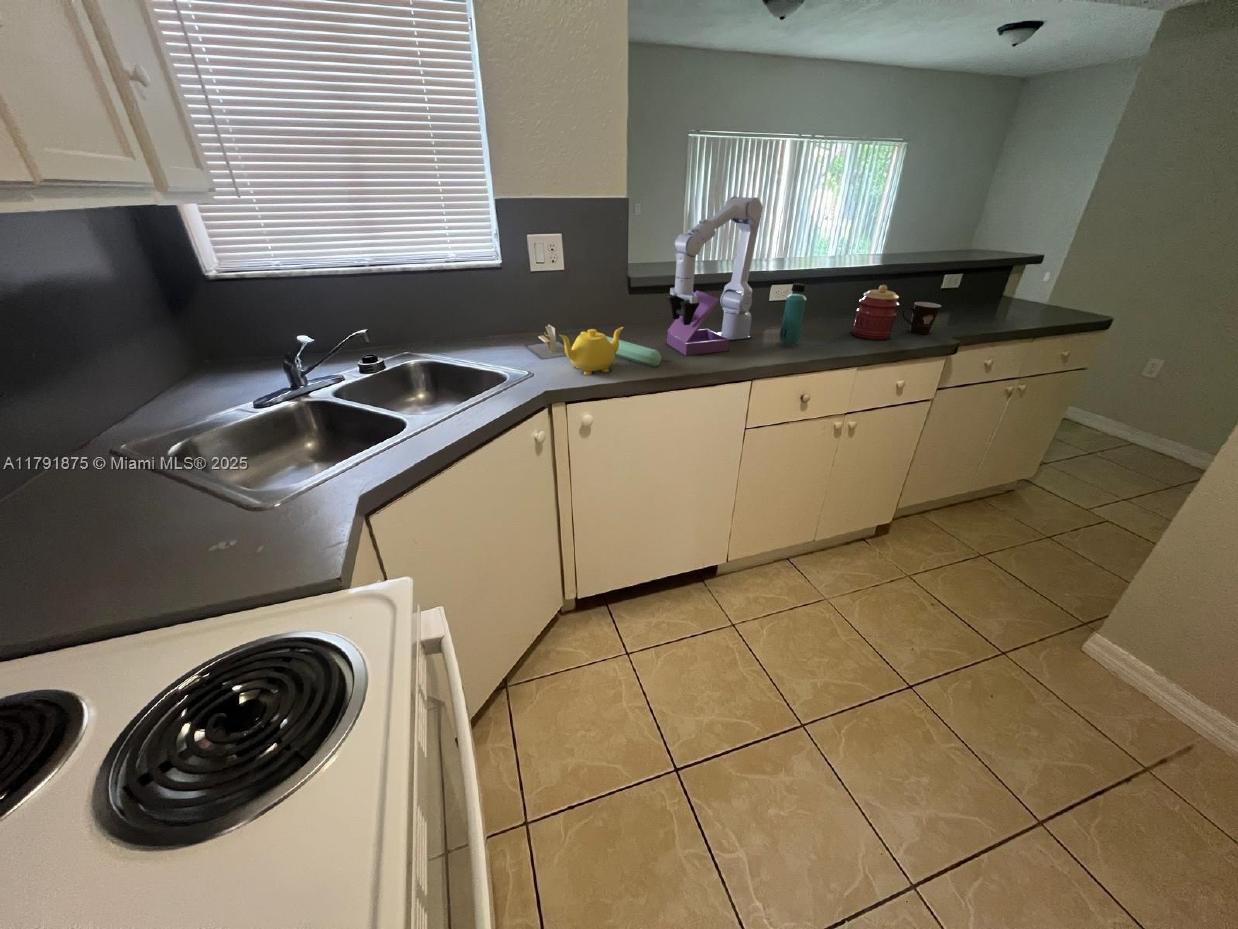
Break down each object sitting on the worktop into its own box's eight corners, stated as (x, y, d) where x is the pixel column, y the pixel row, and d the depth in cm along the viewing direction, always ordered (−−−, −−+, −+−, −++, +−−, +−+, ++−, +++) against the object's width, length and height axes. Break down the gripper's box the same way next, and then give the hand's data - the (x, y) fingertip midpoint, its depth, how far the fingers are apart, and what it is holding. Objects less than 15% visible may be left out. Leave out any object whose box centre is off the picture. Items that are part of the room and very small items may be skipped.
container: (662, 345, 143) (599, 328, 156) (651, 357, 140) (588, 339, 154) (665, 361, 147) (603, 343, 161) (654, 373, 145) (592, 354, 158)
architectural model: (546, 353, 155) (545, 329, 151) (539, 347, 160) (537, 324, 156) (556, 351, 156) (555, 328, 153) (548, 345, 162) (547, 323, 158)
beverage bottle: (800, 345, 167) (813, 283, 156) (792, 349, 162) (804, 286, 152) (783, 341, 170) (794, 281, 160) (774, 344, 166) (785, 283, 156)
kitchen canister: (896, 336, 177) (912, 286, 168) (876, 342, 170) (891, 290, 161) (864, 328, 186) (877, 280, 177) (843, 333, 180) (856, 283, 171)
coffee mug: (932, 330, 185) (941, 303, 179) (931, 336, 178) (940, 308, 173) (898, 326, 190) (906, 299, 185) (896, 331, 184) (904, 304, 178)
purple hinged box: (697, 291, 161) (688, 282, 158) (719, 299, 150) (709, 290, 147) (668, 331, 164) (658, 324, 161) (687, 343, 153) (677, 334, 150)
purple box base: (706, 339, 171) (707, 328, 169) (727, 350, 160) (729, 339, 158) (666, 343, 166) (667, 332, 164) (685, 355, 155) (686, 343, 153)
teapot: (610, 356, 153) (611, 319, 147) (632, 370, 142) (634, 331, 136) (550, 364, 145) (548, 326, 140) (569, 381, 134) (567, 340, 128)
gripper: (662, 273, 154) (660, 317, 161) (684, 282, 142) (680, 328, 149) (682, 272, 156) (679, 315, 163) (705, 280, 144) (700, 326, 151)
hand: (681, 321), depth 156 cm, fingers open, 7 cm apart
